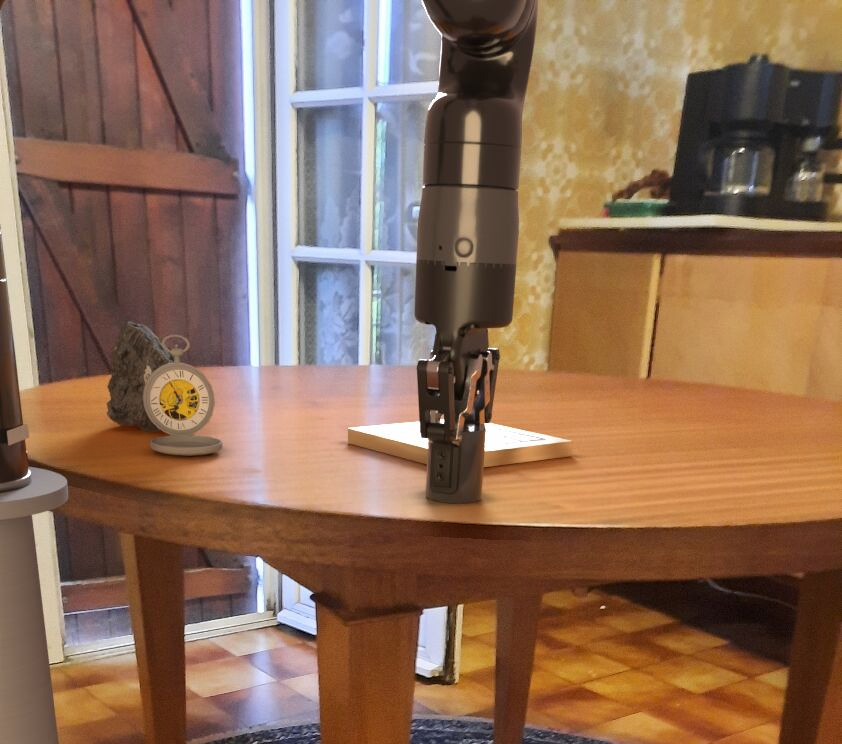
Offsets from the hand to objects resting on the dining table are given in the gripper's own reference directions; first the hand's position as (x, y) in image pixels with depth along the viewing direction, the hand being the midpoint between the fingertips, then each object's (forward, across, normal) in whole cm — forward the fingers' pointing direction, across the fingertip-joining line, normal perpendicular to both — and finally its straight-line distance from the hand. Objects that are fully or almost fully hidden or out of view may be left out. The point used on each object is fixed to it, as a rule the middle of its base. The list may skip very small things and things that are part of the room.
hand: (454, 485), depth 87 cm
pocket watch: (+1, -6, -29) cm, 29 cm away
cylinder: (+1, 0, 0) cm, 1 cm away
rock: (+1, -16, -37) cm, 40 cm away
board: (+1, -21, -6) cm, 22 cm away
